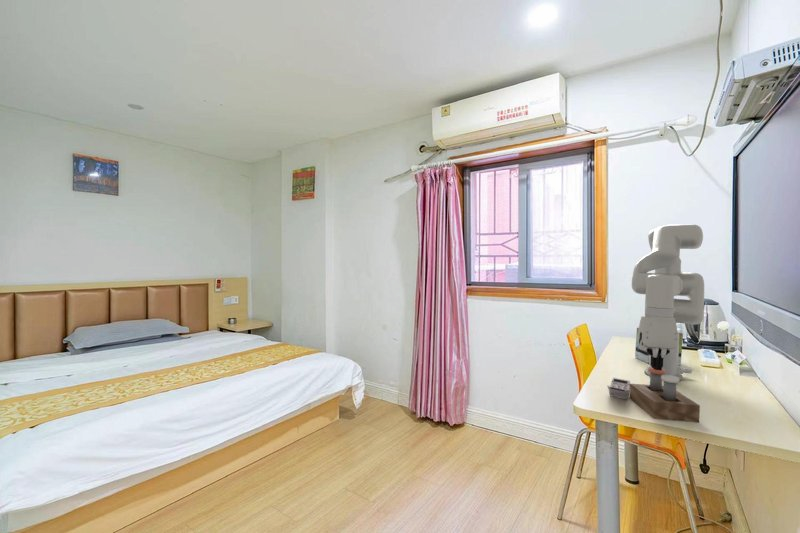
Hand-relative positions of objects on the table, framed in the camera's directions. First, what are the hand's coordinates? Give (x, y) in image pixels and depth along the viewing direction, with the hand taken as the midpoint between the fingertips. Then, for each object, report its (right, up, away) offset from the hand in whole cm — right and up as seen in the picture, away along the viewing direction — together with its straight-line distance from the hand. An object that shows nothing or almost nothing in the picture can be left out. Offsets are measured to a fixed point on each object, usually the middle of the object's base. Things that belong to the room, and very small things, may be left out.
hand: (656, 368), depth 120 cm
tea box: (+36, -11, +51) cm, 64 cm away
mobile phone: (-6, -12, +10) cm, 17 cm away
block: (-1, -12, -3) cm, 12 cm away
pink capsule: (0, -7, 0) cm, 7 cm away
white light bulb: (-1, -8, -7) cm, 11 cm away
